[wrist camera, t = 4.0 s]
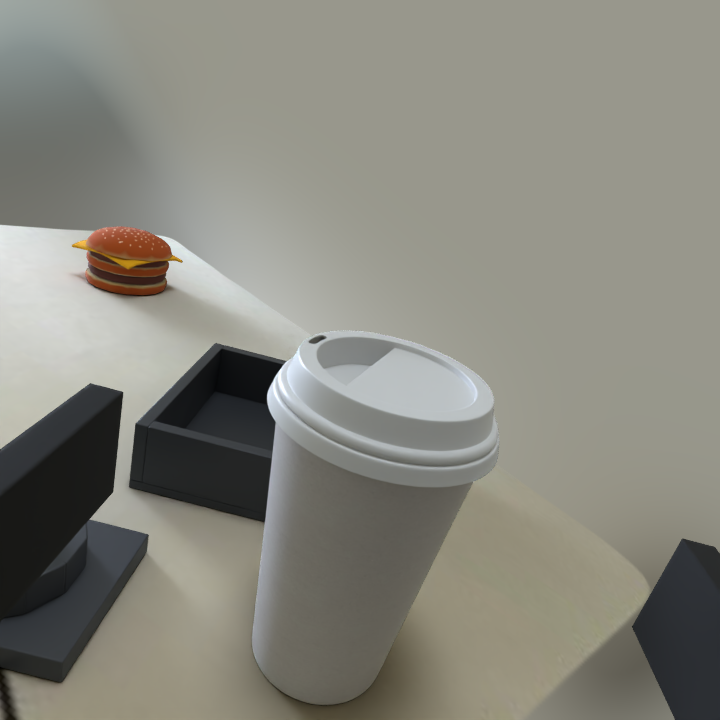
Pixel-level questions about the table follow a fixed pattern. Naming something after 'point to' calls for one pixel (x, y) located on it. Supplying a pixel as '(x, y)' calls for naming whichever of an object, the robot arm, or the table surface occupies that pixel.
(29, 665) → the panel
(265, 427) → the basket
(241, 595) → the table surface
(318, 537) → the coffee cup
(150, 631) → the table surface
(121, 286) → the hamburger
